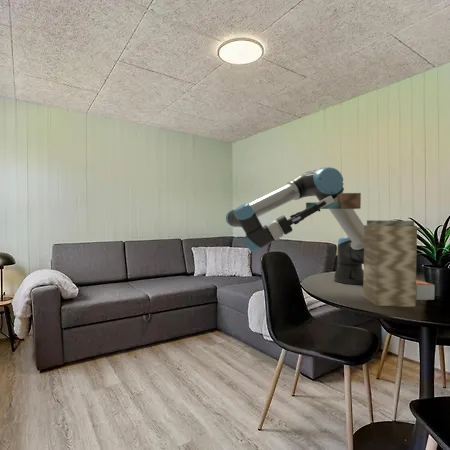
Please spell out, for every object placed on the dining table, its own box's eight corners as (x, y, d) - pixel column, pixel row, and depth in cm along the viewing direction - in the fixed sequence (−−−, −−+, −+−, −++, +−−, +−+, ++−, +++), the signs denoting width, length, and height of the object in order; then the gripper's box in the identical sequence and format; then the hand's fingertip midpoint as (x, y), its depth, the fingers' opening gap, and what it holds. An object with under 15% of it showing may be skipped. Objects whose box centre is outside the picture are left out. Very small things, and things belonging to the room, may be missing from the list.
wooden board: (376, 305, 114) (377, 220, 113) (363, 295, 128) (364, 220, 127) (415, 306, 112) (417, 221, 111) (398, 296, 126) (399, 220, 125)
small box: (411, 277, 135) (435, 284, 122) (411, 291, 135) (434, 300, 122) (394, 278, 134) (416, 284, 121) (394, 292, 134) (416, 300, 121)
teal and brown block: (307, 208, 119) (307, 193, 119) (304, 209, 126) (305, 194, 126) (360, 208, 117) (360, 193, 117) (354, 208, 124) (354, 194, 124)
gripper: (282, 234, 131) (331, 207, 129) (286, 236, 116) (341, 206, 113) (274, 219, 132) (322, 192, 129) (276, 219, 116) (331, 188, 114)
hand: (331, 198), depth 121 cm, fingers closed on teal and brown block, 2 cm apart
